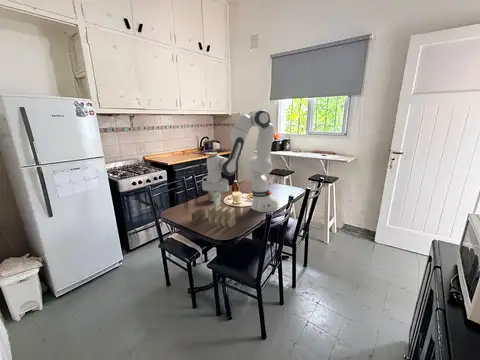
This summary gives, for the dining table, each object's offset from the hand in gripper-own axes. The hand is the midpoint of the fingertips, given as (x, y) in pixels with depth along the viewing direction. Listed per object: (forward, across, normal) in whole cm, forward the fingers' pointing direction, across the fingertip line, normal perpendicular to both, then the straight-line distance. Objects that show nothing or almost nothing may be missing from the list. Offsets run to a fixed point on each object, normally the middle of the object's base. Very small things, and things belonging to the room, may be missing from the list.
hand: (216, 196), depth 165 cm
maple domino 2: (+14, -7, +13) cm, 20 cm away
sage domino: (+7, 0, 0) cm, 7 cm away
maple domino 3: (+14, -12, +13) cm, 22 cm away
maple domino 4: (+14, -17, +13) cm, 25 cm away
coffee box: (+14, +17, -26) cm, 34 cm away
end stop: (+13, +8, +13) cm, 20 cm away
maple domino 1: (+14, -3, +13) cm, 19 cm away
